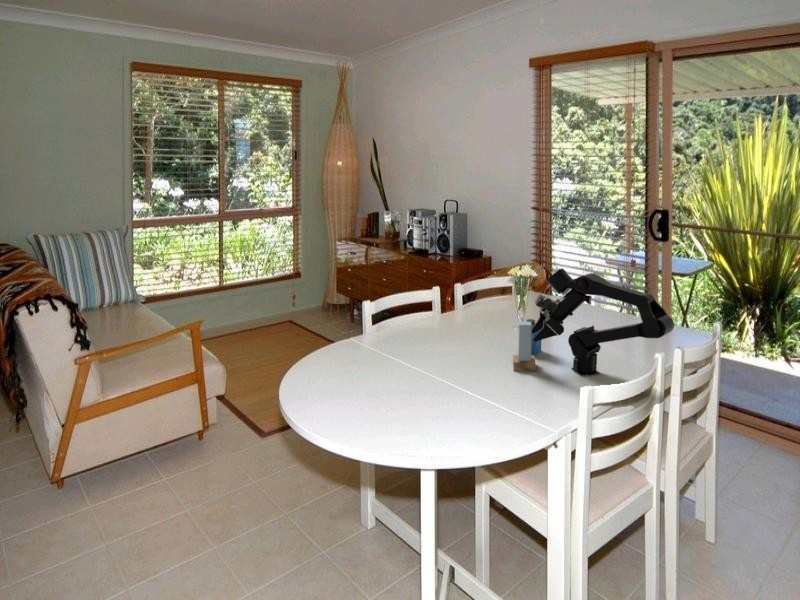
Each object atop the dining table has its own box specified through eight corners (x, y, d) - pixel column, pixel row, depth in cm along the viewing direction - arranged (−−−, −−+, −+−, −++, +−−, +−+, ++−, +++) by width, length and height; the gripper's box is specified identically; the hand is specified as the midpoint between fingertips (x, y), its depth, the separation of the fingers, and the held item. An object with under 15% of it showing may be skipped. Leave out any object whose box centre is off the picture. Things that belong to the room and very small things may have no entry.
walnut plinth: (533, 363, 193) (533, 355, 192) (535, 371, 186) (535, 362, 185) (512, 363, 194) (513, 355, 193) (513, 370, 187) (513, 362, 186)
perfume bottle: (541, 350, 206) (542, 319, 203) (535, 355, 201) (536, 323, 198) (524, 348, 209) (525, 317, 206) (518, 353, 204) (519, 321, 201)
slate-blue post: (530, 357, 191) (530, 321, 188) (530, 361, 187) (531, 325, 184) (518, 356, 191) (518, 321, 188) (518, 360, 187) (519, 324, 185)
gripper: (547, 281, 191) (513, 312, 195) (554, 293, 173) (517, 327, 177) (570, 303, 192) (536, 334, 196) (579, 318, 174) (542, 351, 178)
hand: (532, 336), depth 187 cm, fingers open, 9 cm apart
